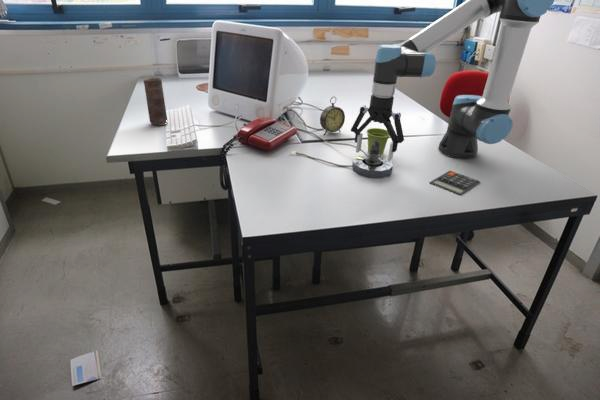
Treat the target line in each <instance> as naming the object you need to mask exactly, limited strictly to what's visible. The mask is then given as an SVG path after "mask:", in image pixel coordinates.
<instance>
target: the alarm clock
mask: <svg viewBox="0 0 600 400" xmlns="http://www.w3.org/2000/svg"><path fill="white" fill-rule="evenodd" d="M333 98H335V99H337V97H336V96H331V98H330V100H329V103H330V104H331V105H328V106H327V107H325V108H324V109H323V110H322V112H321V114H320V118H319V123H320V126H321V128H322V129H323V130H325V132H324V133H323V135H324V136H326V134H327V132H329V133H337V132H338V131H339V133H341V129H342V127H344V125H345V124H344V123H345V119H346V114H345V112H344V110H343V108H341V107H339V106H336V105H335V104H336V103H337V100H334V101H335V102H331V101H332V100H333Z"/></svg>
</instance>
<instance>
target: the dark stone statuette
mask: <svg viewBox="0 0 600 400" xmlns="http://www.w3.org/2000/svg"><path fill="white" fill-rule="evenodd" d="M379 147H380V143H379V142H378V141H377V139H376V141H373V142H372V146H371V150H370V154H369V155H370V157H369V158H367V159H366V160H365V161H366V165H367V166H371V167H379V166H380V164H381V163H382V162H381V160H379V159H378V156H380V155H379V153H380V151H379Z"/></svg>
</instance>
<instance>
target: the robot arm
mask: <svg viewBox="0 0 600 400" xmlns="http://www.w3.org/2000/svg"><path fill="white" fill-rule="evenodd" d="M554 2H555V0H465V1H464V2H462V3H461V4H459V5H458V6H457V7H455V8H453V9H452V10H451V11H448V12H447V13H446V14H444V15H443V16H441V17H439V18H438V19H437V20H435V21H433V22H432V23H431V24H430V25H427V26H426V27H425V28H423V29H421V30H420V31H419V32H417V33H416V34H414V35H412V36H411V37H409V38H408V39H406V40H405V41H403V42H402V43H394V44H381V45H379V46H378V48H377V51H376V54H375V55H376V56H375V60H374V71H373V79H372V85H371V95H370V101H369V106H366V105H363V106H361V107H360V108H359V113H358V115H357V117H356V119H355V121H354V123H353V125H352V126H351V129H350V132H351V133H353V134H355V135H354V136H355V137H354V142H355V143H356V146H355V153H360V152H361V150H362V143H363V133H362V132H363V130H365V128H366V127H367V126H368V125H370V123H371V122H372V121H373V123H378V124H383V125H384V127H385V128H386V129H385V130H387V131H388V133H389V135H390V136H389V138H390V139H391V142H390V143H389V144H390V145H389V151H388V156H387V157H388V158H387V159H388V161H392V160H393V157H394V153H396V152H397V150H398V144H402V143H403V142H404V141H405V137H404V133H403V132H404V131H403V127H402V123H401V115H402V114H401V112H397V113H396V112H394V111H393V105H394V99H395V97H394V95H395V93H396V87H397V86H396V85H397V80H398V78H403V77H405V78H428V77H431V76H432V75H433V74H434V73H435V71H436V67H437V65H436V64H437V59H436V56H435V54H434V53H432V52H430V51H432V50H434V49H435V48H437V47H438V46H439V45H441V44H443V43H444V42H446V41H447V40H449V39H451V38H453V37H454V36H456V34H458V33H460V32H461V31H463V30H465V29H466V28H468V27H469V26H471V25H472V24H474V23H476V22H477V21H478V20H480V19H481V18H483V19H487V18H489V17H490V16H492V15H495V14H496V13H497V14H498V13H500V15H499V21H500V23H501V24H502V27H501V29H500V33H499V35H498V39H497V40H498V41H497V43H496V47H495V51H494V54H493V58H492V60H491V65H490V68H489V72H488V76H487V80H486V83H485V86H484V89H483V93H482V95H477V94H476V95H475V94H459V95H456V96H455V98H454V99H453V100H454V101H453V103H452V106H451V107H452V108H451V111H450V116H449V120H448V123H447V130H446V132H445V133H444V135H443V136H442V138H441V140H440V142H439V144H438V148H437V149H439V150H440V151H441V152H442V153H441V152H440V151H439V150H438V151H439V152H440V153H441V154H443V153H444V154H443V155H445V154H446V155H445V156H447V155H449V156H448V157H450V156H452V157H451V158H454V157H456V158H455V159H460V158H462V159H464V160H468V159H469V158H471V159H474V158H476V157H477V156H476V155H478V151H479V147H478V146H479V144H478V142H482V143H483V144H487V145H495V144H498V143H500V142H502V140H504V139H506V138H507V137H508V136H509V135H510V133H511V131H512V129H513V122H514V121H513V120H512V118H511V116H510V112H511V108H512V106H511V104H510V102H509V100H510V97H511V93H512V90H513V87H514V84H515V81H516V78H517V76H518V71H519V68H520V65H521V62H522V58H523V55H524V52H525V49H526V47H527V43H528V41H529V40H528V39H529V37H530V34H531V30H532V28H533V27H534V26H536V25H537V24H539V22H540V19H541V17H542V16H543V15H545V14H547V11H548V10H550V9H551V8H552V6H553V4H554ZM367 112H368V115H369V116H368V118H367V119H366V120H365V122H363V123H362V125H361V126H360V127H359V125H360V124H361V122H362V120H363V118H364V116H365V115H366V113H367ZM391 118H392V120H393V121H394V126H393V125H392V120H391ZM358 127H359V128H358ZM394 128H395V129H394ZM462 159H461V160H462ZM469 160H470V159H469Z"/></svg>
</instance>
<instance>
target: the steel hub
mask: <svg viewBox="0 0 600 400" xmlns="http://www.w3.org/2000/svg"><path fill="white" fill-rule="evenodd" d="M369 157H370V154H361V155H356V157H354V158H353V159H352V166H351V168H352V172H354V173H355V174H356V175H358V176H360V177H364V178H367V179H374V180H375V179H379V180H380V179H385V178H388V177H390V176H391V175H392V173H393V167H394V164H393V162H392V160H390V161H388V158H387V157H384V156H382V155H378V159H379V160H381V162H382V163H381V164H380V166H379V167H371V166H367V165H366V161H365V160H366V159H367V158H369Z"/></svg>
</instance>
